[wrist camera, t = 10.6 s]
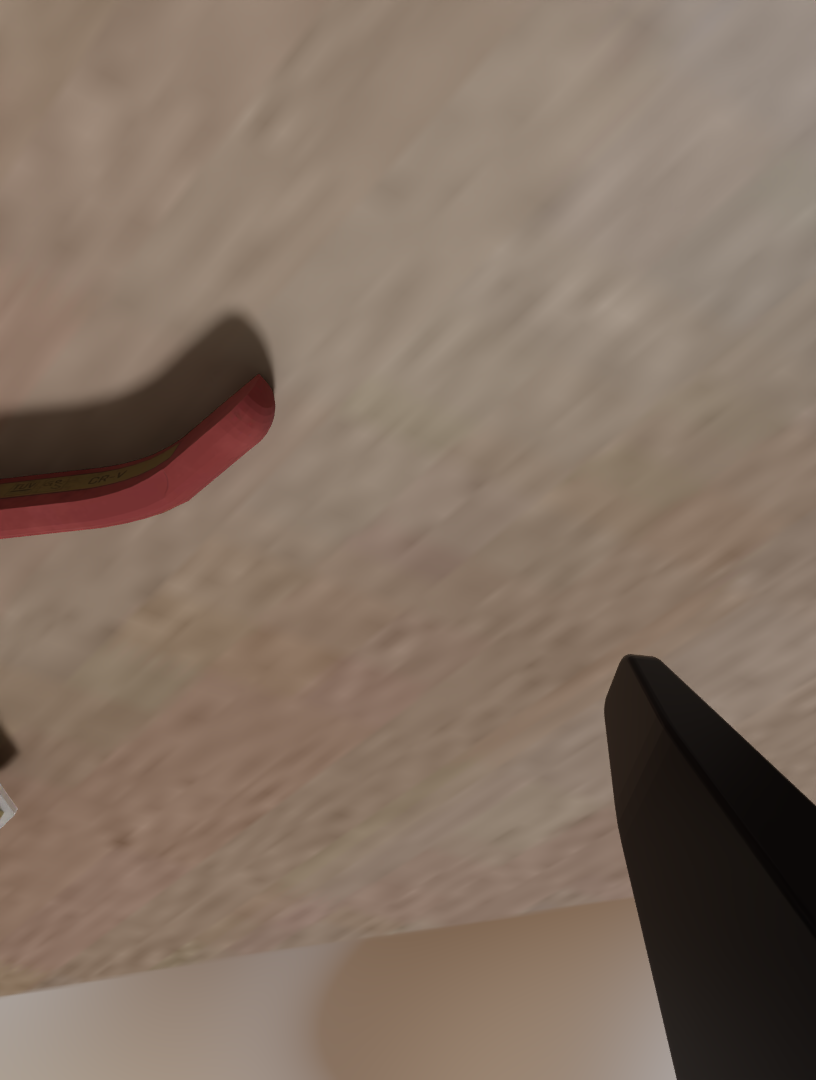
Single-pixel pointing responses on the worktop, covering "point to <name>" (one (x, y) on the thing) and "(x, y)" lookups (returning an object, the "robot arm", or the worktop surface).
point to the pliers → (139, 474)
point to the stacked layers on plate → (6, 807)
